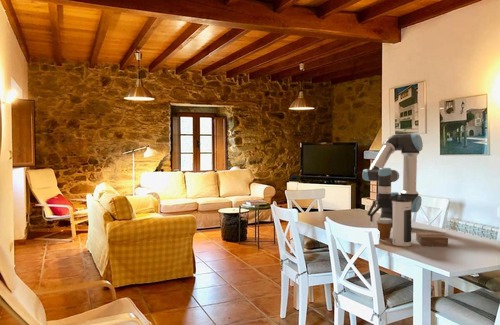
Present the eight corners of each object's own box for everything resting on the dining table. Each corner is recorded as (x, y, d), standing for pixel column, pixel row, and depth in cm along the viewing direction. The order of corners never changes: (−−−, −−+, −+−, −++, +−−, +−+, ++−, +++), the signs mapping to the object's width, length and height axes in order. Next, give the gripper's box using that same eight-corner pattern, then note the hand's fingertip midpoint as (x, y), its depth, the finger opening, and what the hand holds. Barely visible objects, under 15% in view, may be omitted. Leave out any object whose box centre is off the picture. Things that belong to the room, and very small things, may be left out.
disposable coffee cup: (393, 240, 247) (393, 220, 247) (377, 239, 249) (377, 220, 249) (391, 236, 257) (391, 217, 256) (375, 236, 259) (375, 217, 258)
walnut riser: (416, 240, 247) (416, 232, 247) (440, 240, 245) (440, 232, 244) (421, 246, 233) (421, 237, 233) (448, 246, 231) (448, 238, 231)
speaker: (399, 247, 230) (399, 201, 229) (388, 243, 240) (388, 198, 239) (415, 246, 233) (415, 200, 232) (403, 241, 243) (404, 198, 242)
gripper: (364, 193, 250) (364, 227, 251) (407, 194, 246) (406, 229, 247) (363, 191, 257) (362, 225, 258) (404, 192, 253) (404, 226, 254)
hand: (384, 227), depth 253 cm, fingers open, 13 cm apart
